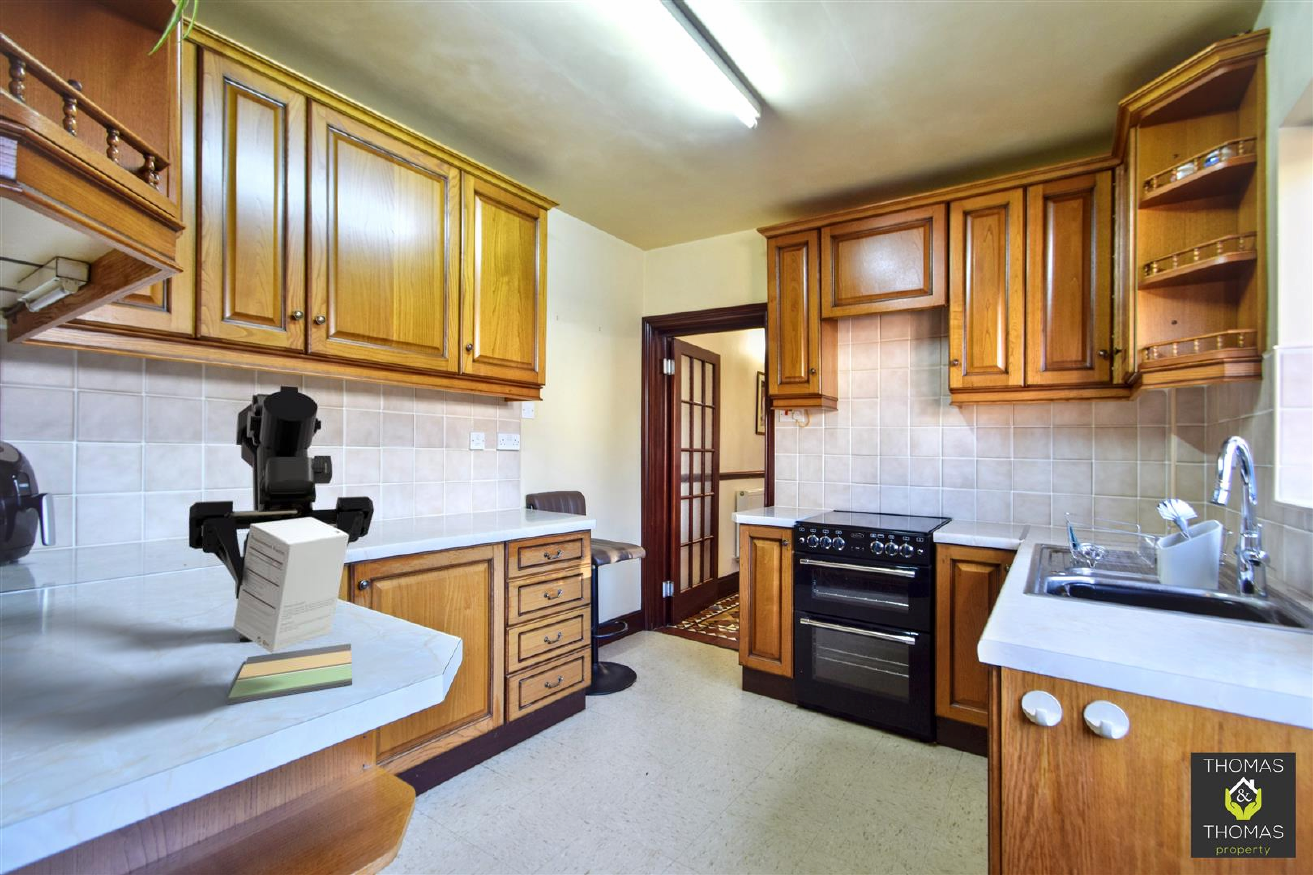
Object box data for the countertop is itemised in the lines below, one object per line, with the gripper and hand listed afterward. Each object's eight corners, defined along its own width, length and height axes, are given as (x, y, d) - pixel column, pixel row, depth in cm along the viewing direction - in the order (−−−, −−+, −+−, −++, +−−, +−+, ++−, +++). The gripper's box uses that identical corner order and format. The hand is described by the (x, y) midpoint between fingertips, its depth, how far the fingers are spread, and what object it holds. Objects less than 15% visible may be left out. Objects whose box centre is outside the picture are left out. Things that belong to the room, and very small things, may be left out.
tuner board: (247, 660, 76) (248, 656, 76) (350, 647, 81) (350, 642, 81) (227, 704, 63) (227, 698, 63) (351, 684, 68) (352, 679, 68)
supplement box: (294, 612, 72) (312, 515, 71) (333, 634, 69) (351, 533, 68) (230, 629, 65) (248, 522, 64) (269, 654, 62) (289, 542, 61)
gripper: (192, 430, 65) (184, 543, 56) (373, 435, 76) (390, 529, 67) (192, 494, 71) (185, 605, 62) (359, 490, 82) (374, 583, 73)
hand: (290, 578), depth 66 cm, fingers closed on supplement box, 9 cm apart
